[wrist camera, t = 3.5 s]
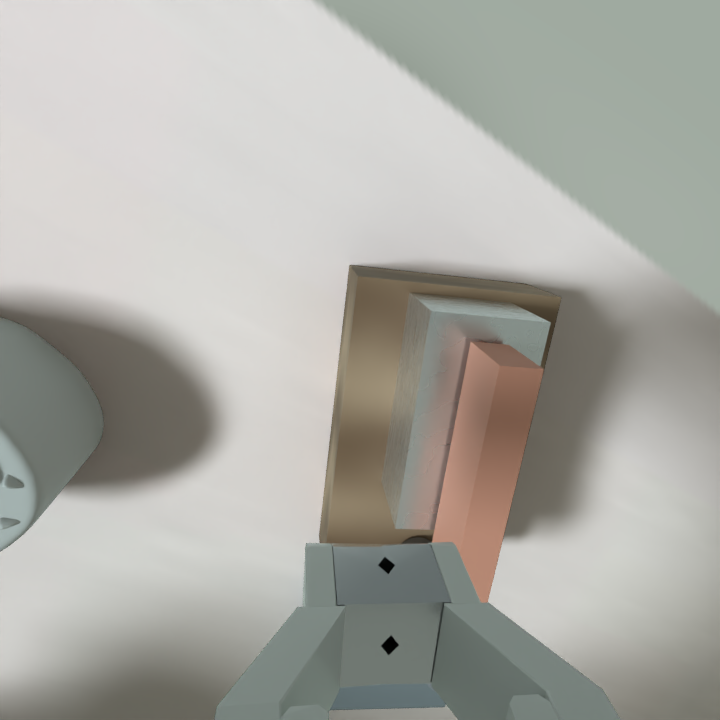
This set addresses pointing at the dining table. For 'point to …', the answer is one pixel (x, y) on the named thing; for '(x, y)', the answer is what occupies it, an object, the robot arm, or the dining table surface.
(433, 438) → the grey-blue rectangular block
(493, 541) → the cam lever
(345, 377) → the body
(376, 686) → the pad
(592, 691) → the robot arm
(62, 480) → the paw pad
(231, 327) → the dining table surface
